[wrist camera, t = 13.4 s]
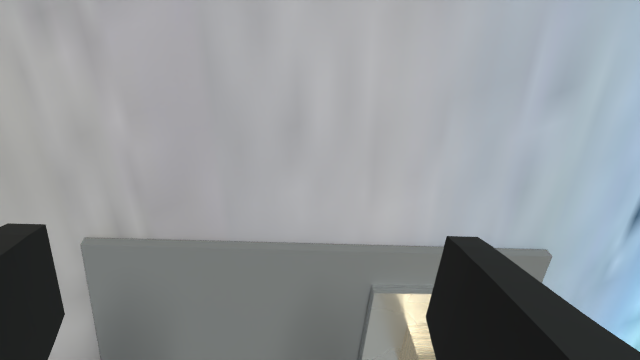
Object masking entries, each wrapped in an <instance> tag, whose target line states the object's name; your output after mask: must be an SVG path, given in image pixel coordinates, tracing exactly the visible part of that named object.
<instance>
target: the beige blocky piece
mask: <svg viewBox="0 0 640 360" xmlns="http://www.w3.org/2000/svg"><path fill="white" fill-rule="evenodd" d="M433 287H434V285H398V284H372V286H371V291H370V297H369V302H368V308H367V313H366V319H365V324H364V329H363V335H362V340H361V346H360V351H359V356H358V360H436V357H435V354H434V350H433V346H432V342H431V338H430V334H429V329H428V325H427V321H426V313H427V309H428V306H429V302H430V298H431V294H432V291H433Z"/></svg>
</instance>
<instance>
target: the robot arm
mask: <svg viewBox="0 0 640 360" xmlns="http://www.w3.org/2000/svg"><path fill="white" fill-rule="evenodd" d="M64 315H65V313H64V308H63V304H62V299H61V294H60V290H59V285H58V280H57V276H56V271H55V266H54V262H53V257H52V252H51V248H50V243H49V238H48V234H47V229H46V225H41V224H6V225H4V226H1V227H0V360H48V357H49V355H50V352H51V350H52V347H53V345H54V342H55V339H56V337H57V334H58V331H59V328H60V326H61V323H62V320H63V317H64ZM426 321H427V325H428V329H429V334H430V338H431V342H432V346H433V350H434V354H435V357H436V360H640V352H639V351H637V350H636V349H634V348H633V347H631V346H630V345H628V344H627V343H625V342H624V341H622V340H621V339H619V338H618V337H617V336H615V335H614V334H612V333H611V332H609V331H608V330H606V329H605V328H603V327H602V326H600V325H599V324H597V323H596V322H595V321H593V320H592V319H590V318H589V317H587V316H586V315H585V314H583V313H582V312H580V311H579V310H578V309H576V308H575V307H573V306H572V305H571V304H569V303H568V302H567V301H565V300H564V299H563V298H561V297H560V296H558V295H557V294H556V293H554V292H553V291H552V290H550V289H549V288H548V287H546V286H545V285H544V284H542V283H541V282H540V281H538V280H537V279H535V278H534V277H533V276H531V275H530V274H529V273H527V272H526V271H525V270H523V269H522V268H521V267H519V266H518V265H517V264H515V263H514V262H513V261H511V260H510V259H509V258H507V257H506V256H505V255H503V254H502V253H500V252H499V251H498V250H496V249H495V248H493V247H492V246H491V245H489V244H488V243H486V242H484V241H483V240H481V239H480V238H478V237H457V236H447V238H446V241H445V245H444V249H443V253H442V257H441V260H440V264H439V268H438V272H437V275H436V279H435V283H434V287H433V291H432V294H431V298H430V302H429V306H428V309H427V313H426Z"/></svg>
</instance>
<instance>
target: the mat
mask: <svg viewBox="0 0 640 360" xmlns="http://www.w3.org/2000/svg"><path fill="white" fill-rule="evenodd" d="M443 249H444V247H425V246H387V245H348V244H310V243H271V242H233V241H195V240H156V239H118V238H84V240H83V242H82V243H81V251H82V256H83V262H84V267H85V273H86V279H87V284H88V290H89V296H90V301H91V307H92V313H93V318H94V324H95V330H96V335H97V341H98V346H99V352H100V358H101V360H358V356H359V351H360V346H361V340H362V335H363V329H364V324H365V319H366V313H367V308H368V302H369V297H370V291H371V286H372V284H398V285H434V283H435V279H436V275H437V272H438V268H439V264H440V260H441V257H442V253H443ZM495 249H496V250H498V251H499V252H500V253H502V254H503V255H505V256H506V257H507V258H509V259H510V260H511V261H513V262H514V263H515V264H517V265H518V266H519V267H521V268H522V269H523V270H525V271H526V272H527V273H529V274H530V275H531V276H533V277H534V278H535V279H537V280H538V281H540V282H541V283H542V281H543V278H544V276H545V273H546V271H547V268H548V266H549V263H550V261H551V258H552V255H551V254H550V253H549V252H548V251H547V250H541V249H502V248H495Z"/></svg>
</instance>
